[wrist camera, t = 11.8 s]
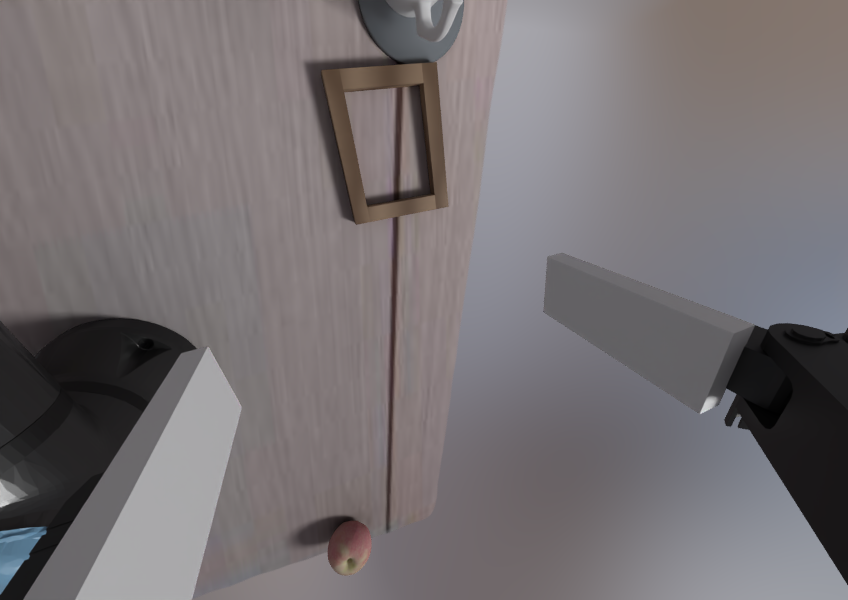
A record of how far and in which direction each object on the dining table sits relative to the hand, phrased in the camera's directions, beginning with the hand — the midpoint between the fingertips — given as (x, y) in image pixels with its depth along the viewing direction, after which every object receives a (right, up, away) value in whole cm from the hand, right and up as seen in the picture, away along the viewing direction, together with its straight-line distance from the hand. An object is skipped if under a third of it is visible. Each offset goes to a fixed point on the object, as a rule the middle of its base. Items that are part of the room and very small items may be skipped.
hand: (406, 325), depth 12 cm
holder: (-3, +19, +24) cm, 30 cm away
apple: (-15, -44, +49) cm, 67 cm away
